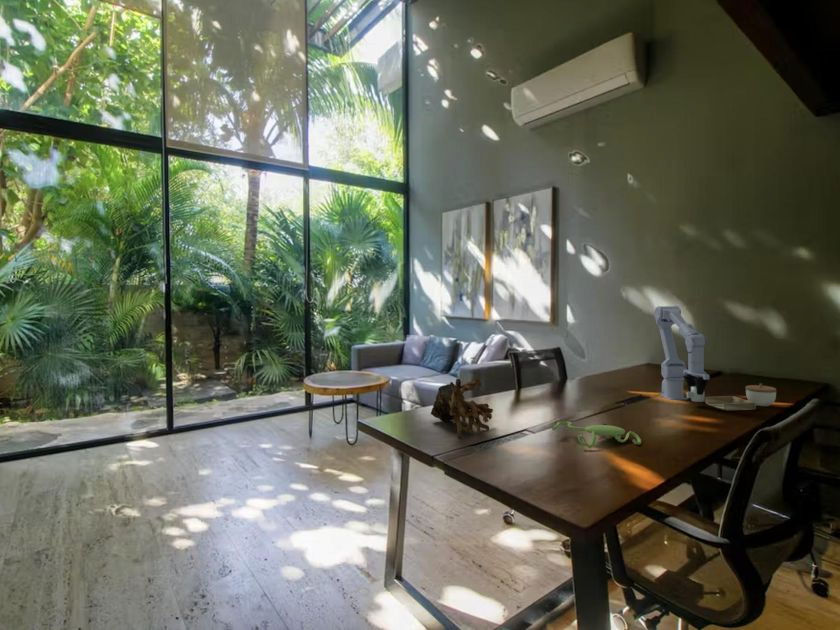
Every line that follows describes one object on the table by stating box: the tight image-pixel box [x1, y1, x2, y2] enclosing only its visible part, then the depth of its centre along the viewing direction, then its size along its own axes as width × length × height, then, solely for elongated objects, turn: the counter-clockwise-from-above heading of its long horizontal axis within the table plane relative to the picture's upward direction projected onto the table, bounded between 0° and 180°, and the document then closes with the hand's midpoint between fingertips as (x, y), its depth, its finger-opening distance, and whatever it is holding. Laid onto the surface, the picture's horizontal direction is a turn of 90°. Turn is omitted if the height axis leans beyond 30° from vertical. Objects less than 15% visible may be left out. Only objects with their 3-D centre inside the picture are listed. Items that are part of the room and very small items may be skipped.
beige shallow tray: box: [704, 395, 757, 411], centre depth 194 cm, size 13×13×3 cm
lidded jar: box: [745, 383, 777, 407], centre depth 195 cm, size 11×11×9 cm
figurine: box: [551, 420, 642, 451], centre depth 155 cm, size 18×27×6 cm
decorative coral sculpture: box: [430, 378, 494, 438], centre depth 171 cm, size 26×23×30 cm
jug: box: [685, 386, 706, 403], centre depth 195 cm, size 5×7×6 cm
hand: (695, 393), depth 195 cm, fingers closed on jug, 5 cm apart
